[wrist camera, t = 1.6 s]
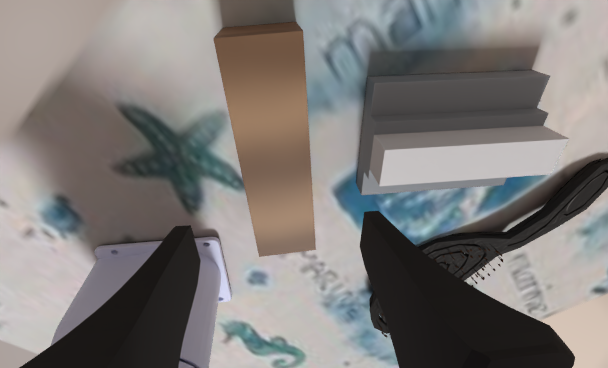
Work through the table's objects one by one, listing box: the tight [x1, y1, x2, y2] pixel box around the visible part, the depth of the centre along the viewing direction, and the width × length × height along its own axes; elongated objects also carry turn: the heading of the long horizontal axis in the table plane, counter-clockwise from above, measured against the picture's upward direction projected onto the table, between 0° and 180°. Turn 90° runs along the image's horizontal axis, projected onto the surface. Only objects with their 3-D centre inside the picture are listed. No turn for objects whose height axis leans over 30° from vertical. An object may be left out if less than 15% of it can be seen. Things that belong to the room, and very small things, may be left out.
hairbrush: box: [370, 158, 608, 337], centre depth 28 cm, size 8×4×25 cm
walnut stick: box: [214, 22, 316, 257], centre depth 19 cm, size 14×4×4 cm, turn 4°
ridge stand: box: [356, 70, 569, 195], centre depth 20 cm, size 11×8×4 cm
